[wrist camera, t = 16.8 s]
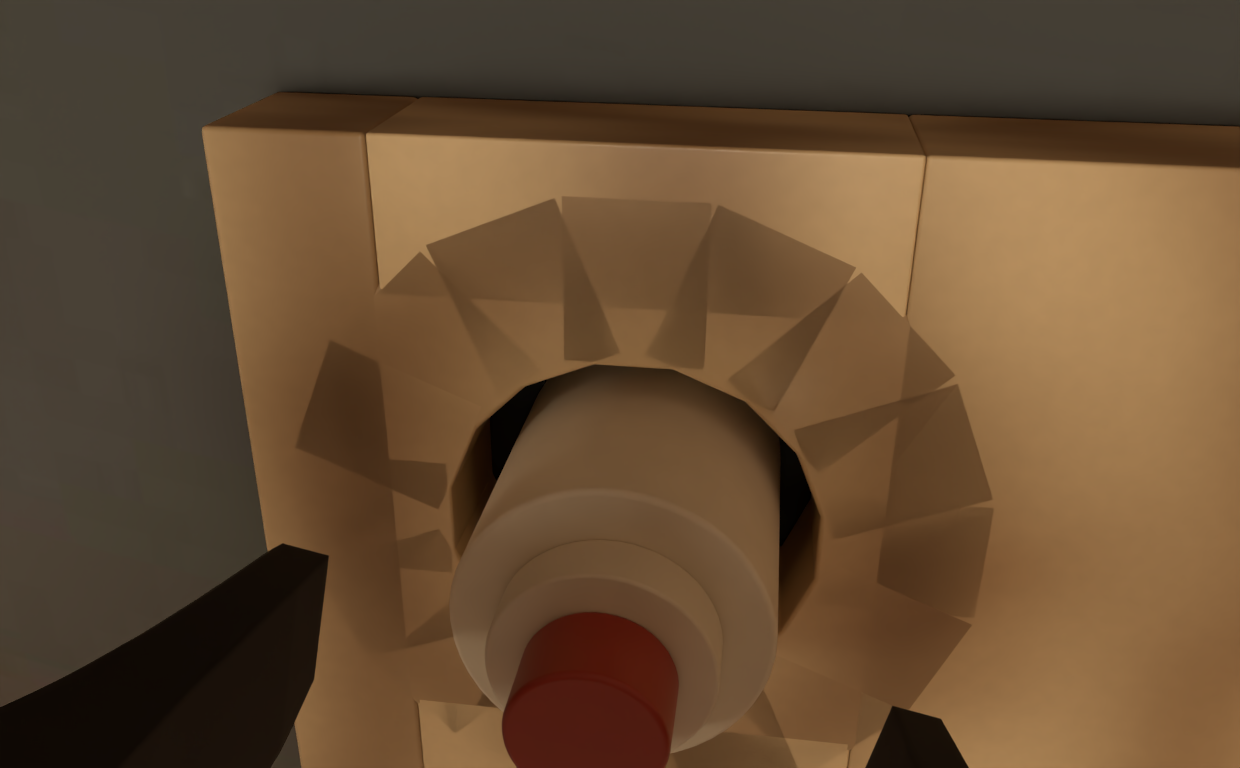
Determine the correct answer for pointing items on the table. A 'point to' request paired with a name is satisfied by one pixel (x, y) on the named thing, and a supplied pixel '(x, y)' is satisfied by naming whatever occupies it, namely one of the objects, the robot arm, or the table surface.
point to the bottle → (624, 571)
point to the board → (768, 399)
